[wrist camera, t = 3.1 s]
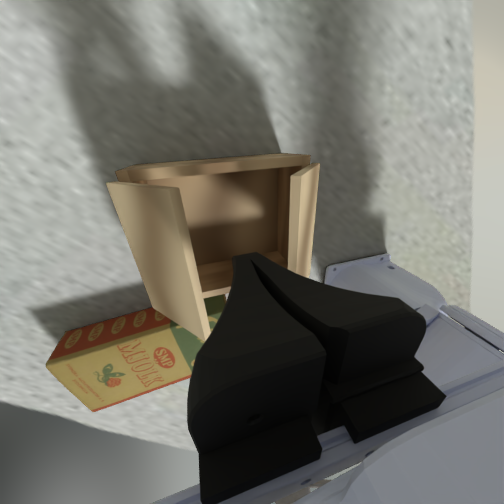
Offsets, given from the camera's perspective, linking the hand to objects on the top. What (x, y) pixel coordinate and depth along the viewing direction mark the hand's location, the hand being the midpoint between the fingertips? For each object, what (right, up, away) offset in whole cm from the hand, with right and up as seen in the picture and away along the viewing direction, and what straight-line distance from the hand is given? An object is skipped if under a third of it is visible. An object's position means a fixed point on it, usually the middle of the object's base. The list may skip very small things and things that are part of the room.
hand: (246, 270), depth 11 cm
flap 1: (-5, 0, +1) cm, 5 cm away
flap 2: (+4, +2, +3) cm, 5 cm away
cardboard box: (-3, +4, +8) cm, 10 cm away
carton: (-10, -8, +13) cm, 18 cm away
